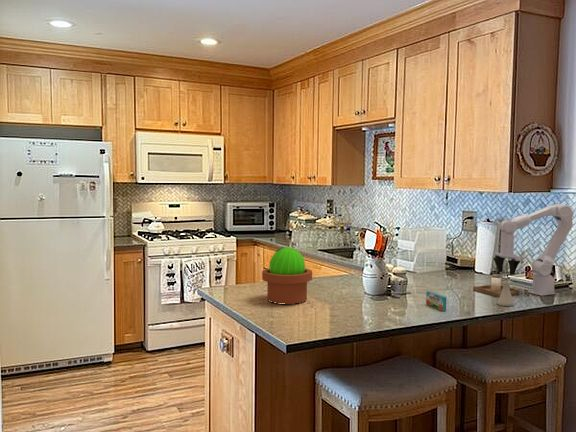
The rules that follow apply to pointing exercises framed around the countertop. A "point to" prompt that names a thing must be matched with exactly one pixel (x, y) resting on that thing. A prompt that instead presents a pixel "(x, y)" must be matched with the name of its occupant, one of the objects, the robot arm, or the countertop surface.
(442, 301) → the teal printed box
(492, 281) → the pepper shaker
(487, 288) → the tray
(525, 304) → the countertop surface
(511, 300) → the flask
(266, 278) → the potted cactus
